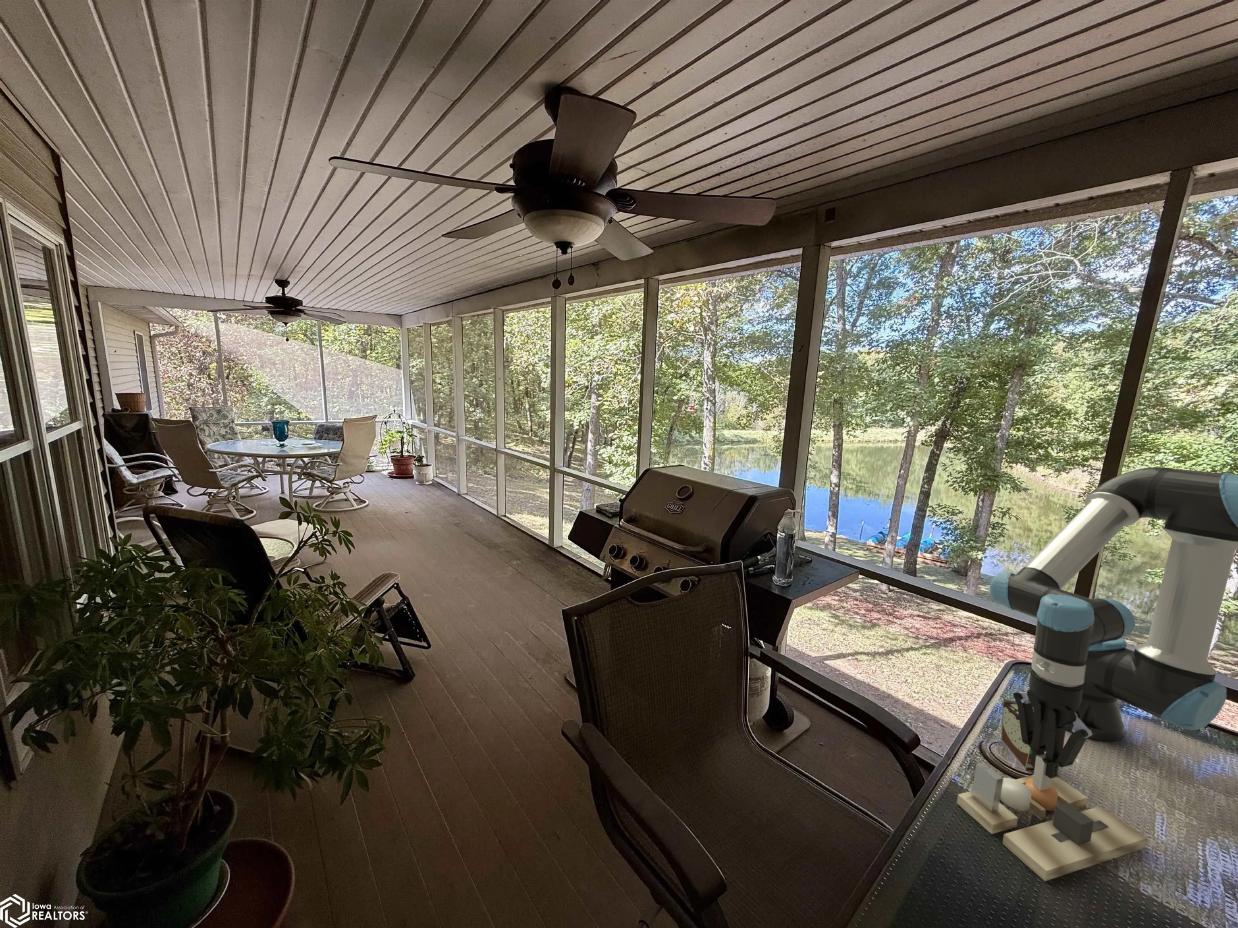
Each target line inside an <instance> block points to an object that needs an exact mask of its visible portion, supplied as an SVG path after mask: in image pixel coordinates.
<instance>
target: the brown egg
mask: <svg viewBox="0 0 1238 928" xmlns="http://www.w3.org/2000/svg"><path fill="white" fill-rule="evenodd" d="M1032 784H1033V778H1028V779H1027V780H1026V784H1025V786H1027V787H1028V788H1029V790H1030V791H1031V799H1032V800H1034V801H1035V802H1036V803H1038V804H1039V805H1040V806H1042V807H1043V808H1044V809H1046V811H1055V807H1056V806H1057V797H1058V793H1057V791H1056V789H1055V788H1054V787H1052V786H1051V788H1050V789H1046V790H1042V791H1040V790H1038V789H1037V788H1036V787H1034V786H1033V785H1032Z"/></svg>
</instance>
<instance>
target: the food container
mask: <svg viewBox="0 0 1238 928" xmlns="http://www.w3.org/2000/svg"><path fill="white" fill-rule="evenodd" d="M1000 705H1001V707H1002V711H1001V730H1000V731H1001V732H1000V734H1001V735H1000V741H1001V742H1002V744H1003V745H1004V746H1005V747H1006V748H1007V749H1008V751H1009V752H1010V753H1011V754H1012V755H1013V757H1014V759H1016V761H1017V763H1019V764H1020V765H1021V766H1023V767H1024V768H1023V767H1022V768H1023V769H1024V770H1025V771H1029V770H1031V771H1034V769H1035V768H1034V767H1033V766H1032V765H1031V758H1032V751H1031V748H1030V747H1029V746H1028V745H1026V744H1024V743H1023V742H1022V737H1021V729H1020V721H1019V714H1018V706H1017V703H1016V701H1015V700H1013V699H1008V698H1007V699H1006V698H1002V701H1001V703H1000ZM1033 712H1034V708H1033ZM1045 753H1046V752H1044V754H1045ZM1031 771H1030V772H1031Z"/></svg>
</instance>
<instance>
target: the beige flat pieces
mask: <svg viewBox="0 0 1238 928" xmlns="http://www.w3.org/2000/svg"><path fill="white" fill-rule="evenodd" d="M1033 776H1034V774H1032V775H1028V776H1023V777H1021V778H1017V779H1015V780H1017V781H1019V782H1021V783H1022V784H1024V785H1025V784H1026V780H1027V779H1028V778H1033ZM1051 786H1052V787H1054V788H1055V789H1056V791H1057V793H1058V797H1057V804H1056V806H1057V805H1061V804H1064V803H1069V804H1070V805H1072V806H1073V807H1075V808H1076V809H1077V810H1079V809H1084V808H1087V806H1088V799H1089V797H1088V796H1087V795H1084V793H1082V792H1080V791H1079V790H1077V789H1076V788H1074V787H1073V786H1071V785H1070V784H1069V783H1067V782H1066V781H1064V780H1062V779H1061V778H1060V777H1059V776H1057V777H1055V778H1052V783H1051ZM956 801H957V802H956V804H957V805H958V806H960V808H962V809H963V810H964V811H965V812H966V813H967V814H968V815H969V816H971V817H972V818H973V819H974V820H976V822H978V823H979V824H980V825H981V826H982V827H983V828H984V829H985V830H986V831H987V832H989V833H990V834H991V835H994V834H997V833H1000V832H1003V831H1008V830H1012V829H1015V828H1017V827H1018V826H1017V825H1018V819H1019V817H1018V816H1017V815H1015V814H1014V813H1013V812H1012V811H1010V810H1009V809H1008V808H1007V807H1006V806H1004V805H1003V804H1002V803H1001V802H999V808H998V811H997V812H993V813H991V812H990V811H989V810H988V809H986V808H985V807H984V806H983V805H982V804H980V803H979V802H978V801H977V800H976V799H974V798H973V797H972V790H970V791H967V792H962V793H958V794H957V800H956ZM1046 811H1047V810H1046V809H1044V808H1043V807H1042V806H1040V805H1039V804H1038V803H1036V802H1035V801H1034V800H1032V799H1031V802H1030V808H1029V810H1028V812H1030V813H1031V814H1032V815H1034V817H1036V818H1037V819H1038V820H1040V821H1042V820H1045V818H1046ZM1080 812H1082V813H1083V814H1085V815H1086V816H1087V817H1089V818H1090V819H1092V820H1093V821H1094V822H1093V828H1092V835H1091V841H1089V842H1085V843H1082V844H1079V845H1078V844H1076V843H1075V842H1074V841H1073V840H1071V839H1070V838H1069V837H1067V836H1066V835H1065V834H1063V833H1062V832H1061V831H1060V830H1058V829H1057V828H1056V827H1054V826H1053V821H1054V819H1050V820H1047V821H1045V822H1041V823H1037V824H1033V825H1030V826H1027V827H1024V828H1021V829H1017V830H1014V831H1011V832H1006V833H1003V839H1002V845H1003V846H1005V848H1007V849H1008V850H1009V851H1010V852H1011V853H1012V854H1014V856H1016V857H1017V858H1018V860H1019V859H1020V861H1021V862H1023V864H1025V866H1027V867H1028V868H1029V869H1030V870H1031V871H1033V873H1035V874H1036V875H1037V876H1038V877H1040V878H1041V879H1042V880H1043V881H1044V882H1047V881H1050V880H1052V879H1056V878H1059V877H1062V876H1065V875H1068V874H1071V873H1075V872H1077V871H1080V870H1083V869H1086V868H1089V867H1092V866H1095V865H1098V864H1101V863H1104V862H1107V861H1110V860H1113V858H1114V859H1117V858H1119V857H1122V856H1125V855H1128V854H1131V853H1134V852H1137V851H1140V850H1143V849H1146V847H1147V844H1148V837H1146V836H1145V835H1144V834H1142V833H1141V832H1139V831H1137V830H1136V829H1135V828H1134V827H1132V826H1130V825H1128V824H1127V823H1126V822H1125V821H1123V820H1122V819H1120V818H1118V817H1117V816H1116V815H1114V814H1112V813H1111V812H1110V811H1108V810H1107V809H1105V808H1104V807H1102V806H1101V805H1099V806H1095V807H1092V808H1089V809H1085V810H1081V811H1080Z"/></svg>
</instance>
